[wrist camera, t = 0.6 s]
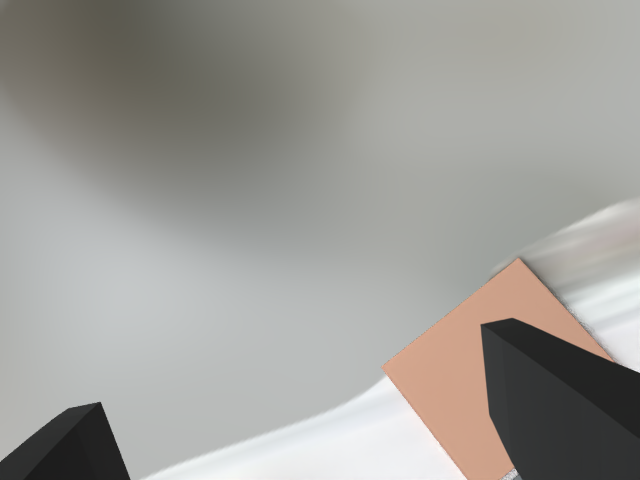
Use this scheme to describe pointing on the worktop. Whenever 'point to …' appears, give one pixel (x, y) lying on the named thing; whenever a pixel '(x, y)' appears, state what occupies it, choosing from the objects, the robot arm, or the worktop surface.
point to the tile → (476, 367)
